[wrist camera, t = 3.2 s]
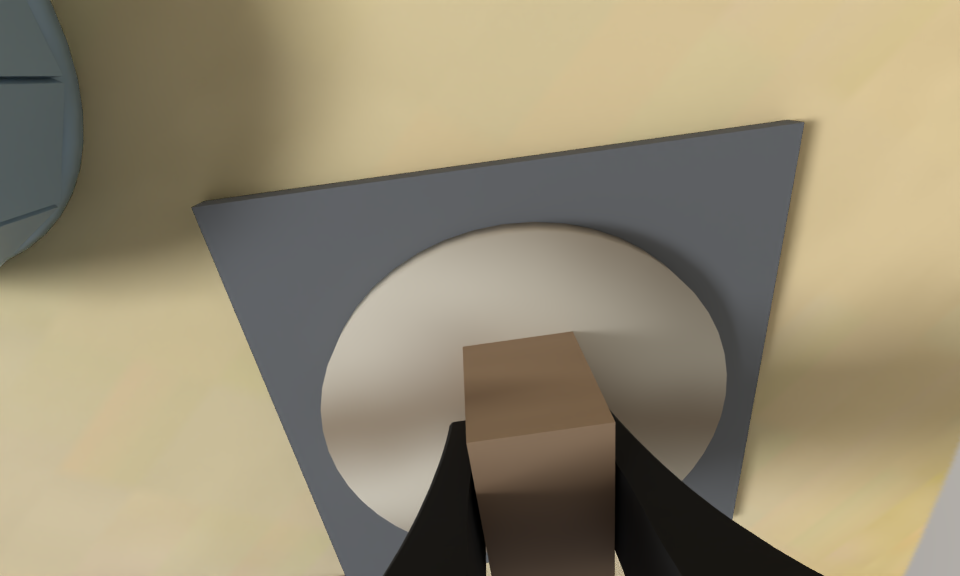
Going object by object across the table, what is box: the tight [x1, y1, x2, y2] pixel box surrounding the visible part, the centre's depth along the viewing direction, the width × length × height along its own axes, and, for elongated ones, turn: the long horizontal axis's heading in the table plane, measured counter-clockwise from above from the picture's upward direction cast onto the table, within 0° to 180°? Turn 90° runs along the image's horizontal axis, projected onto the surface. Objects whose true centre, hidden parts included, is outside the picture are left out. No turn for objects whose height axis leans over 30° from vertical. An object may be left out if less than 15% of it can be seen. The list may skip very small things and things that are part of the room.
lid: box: [321, 222, 727, 576], centre depth 12 cm, size 12×12×4 cm
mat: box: [192, 120, 804, 576], centre depth 14 cm, size 15×15×1 cm
